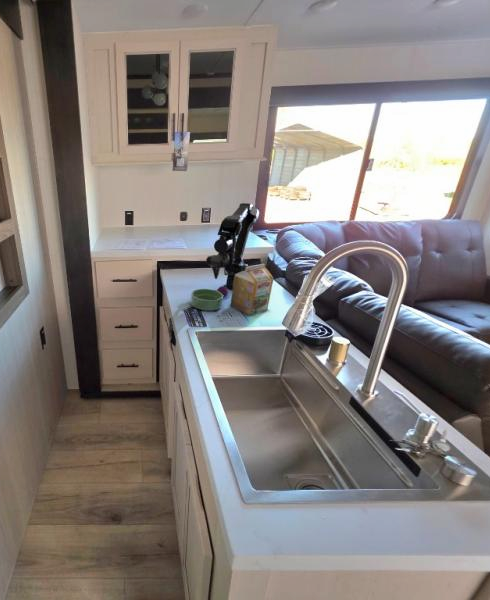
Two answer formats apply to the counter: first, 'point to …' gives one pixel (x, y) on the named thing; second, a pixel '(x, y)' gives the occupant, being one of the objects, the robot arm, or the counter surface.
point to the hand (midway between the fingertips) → (224, 281)
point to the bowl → (206, 299)
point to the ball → (223, 290)
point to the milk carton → (252, 290)
